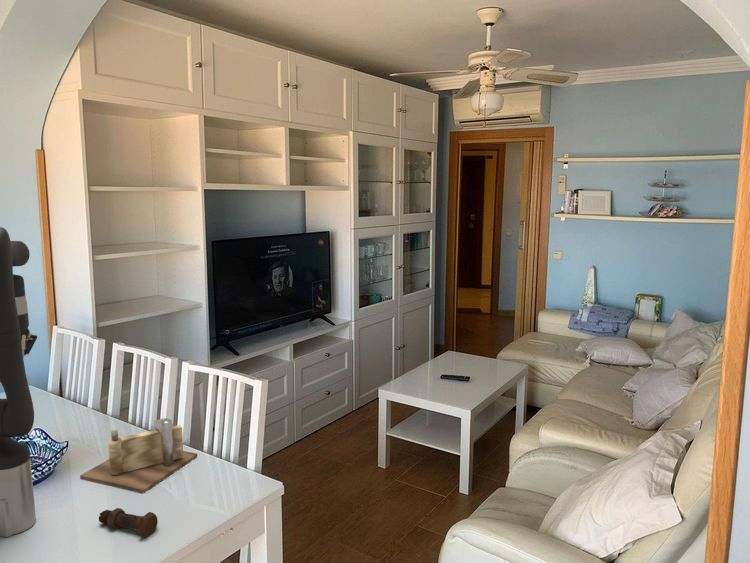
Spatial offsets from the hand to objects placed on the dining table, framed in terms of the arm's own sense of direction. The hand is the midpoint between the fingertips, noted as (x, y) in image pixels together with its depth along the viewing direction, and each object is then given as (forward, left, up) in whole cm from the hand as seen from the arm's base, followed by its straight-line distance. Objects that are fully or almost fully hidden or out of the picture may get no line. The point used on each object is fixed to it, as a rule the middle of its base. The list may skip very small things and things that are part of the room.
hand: (17, 371), depth 167 cm
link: (+16, -30, -31) cm, 46 cm away
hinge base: (+16, -27, -32) cm, 45 cm away
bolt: (-11, -47, -32) cm, 58 cm away
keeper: (+20, -33, -31) cm, 50 cm away
